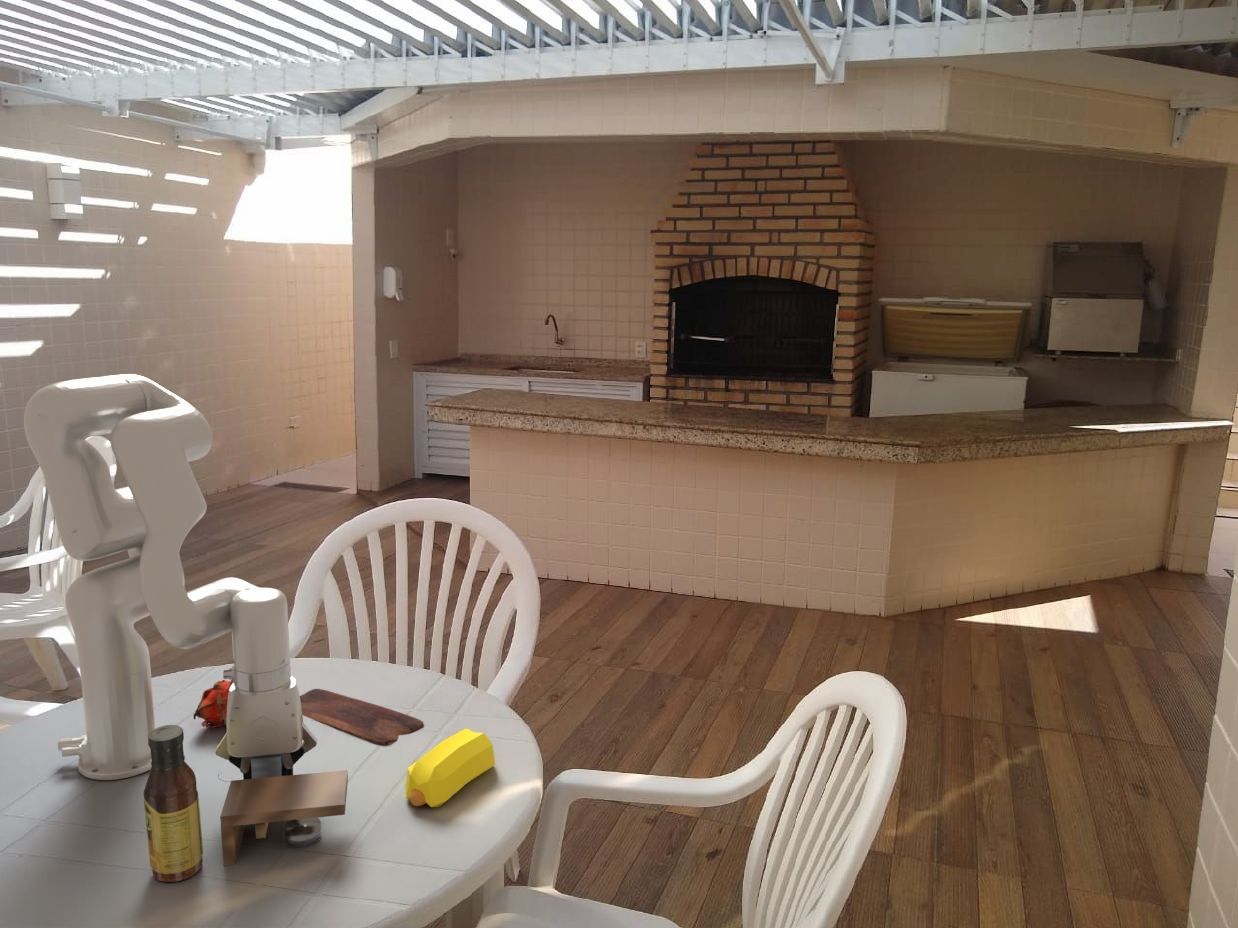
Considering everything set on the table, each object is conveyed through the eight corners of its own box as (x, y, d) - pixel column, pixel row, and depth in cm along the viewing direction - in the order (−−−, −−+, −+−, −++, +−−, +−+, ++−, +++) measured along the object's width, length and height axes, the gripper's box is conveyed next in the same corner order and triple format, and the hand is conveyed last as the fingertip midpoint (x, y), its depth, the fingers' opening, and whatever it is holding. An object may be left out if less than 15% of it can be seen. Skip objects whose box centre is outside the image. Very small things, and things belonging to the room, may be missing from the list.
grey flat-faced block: (245, 839, 131) (242, 792, 129) (256, 789, 143) (254, 746, 142) (276, 836, 132) (273, 789, 130) (285, 786, 144) (283, 743, 143)
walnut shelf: (223, 864, 127) (220, 816, 125) (234, 826, 135) (231, 780, 134) (346, 851, 130) (344, 804, 129) (349, 814, 139) (347, 770, 137)
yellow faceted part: (506, 764, 154) (467, 752, 157) (506, 725, 152) (466, 714, 156) (433, 819, 138) (392, 804, 142) (433, 777, 137) (391, 763, 140)
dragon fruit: (269, 720, 169) (202, 753, 161) (245, 683, 172) (179, 713, 164) (276, 695, 164) (207, 728, 156) (251, 657, 167) (182, 687, 159)
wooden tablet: (276, 701, 171) (320, 675, 179) (278, 712, 172) (322, 686, 180) (384, 744, 157) (427, 714, 165) (386, 755, 158) (428, 725, 166)
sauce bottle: (162, 856, 128) (150, 718, 124) (210, 855, 129) (201, 717, 124) (142, 887, 122) (129, 742, 118) (193, 886, 122) (183, 741, 118)
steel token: (281, 851, 130) (280, 837, 130) (285, 829, 135) (285, 817, 134) (319, 847, 131) (319, 834, 131) (323, 826, 136) (322, 813, 135)
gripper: (195, 690, 132) (203, 811, 136) (322, 681, 136) (327, 799, 140) (204, 668, 139) (212, 784, 143) (325, 660, 143) (330, 772, 147)
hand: (269, 790), depth 142 cm, fingers closed on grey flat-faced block, 4 cm apart
